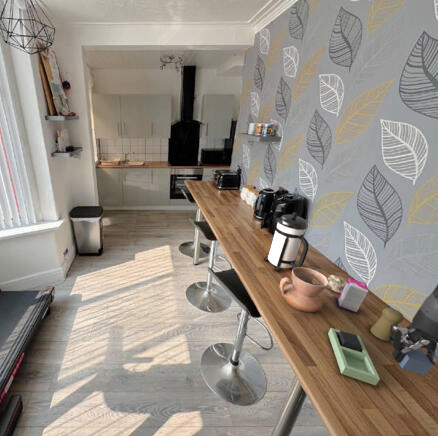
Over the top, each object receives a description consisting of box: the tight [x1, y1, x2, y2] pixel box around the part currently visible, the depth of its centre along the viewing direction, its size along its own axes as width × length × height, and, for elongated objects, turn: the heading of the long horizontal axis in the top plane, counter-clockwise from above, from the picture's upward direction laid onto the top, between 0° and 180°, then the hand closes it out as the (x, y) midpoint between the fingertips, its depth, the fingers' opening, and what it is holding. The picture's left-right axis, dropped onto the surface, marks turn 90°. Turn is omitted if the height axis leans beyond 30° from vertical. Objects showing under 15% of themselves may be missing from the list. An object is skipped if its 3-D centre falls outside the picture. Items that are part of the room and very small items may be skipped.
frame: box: [327, 327, 381, 386], centre depth 76 cm, size 8×16×3 cm, turn 157°
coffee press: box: [263, 211, 309, 272], centre depth 117 cm, size 17×16×30 cm
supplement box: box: [337, 277, 369, 314], centre depth 96 cm, size 6×6×12 cm
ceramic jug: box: [279, 266, 332, 314], centre depth 96 cm, size 18×14×14 cm
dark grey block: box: [337, 330, 362, 351], centre depth 79 cm, size 5×5×4 cm
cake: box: [326, 274, 348, 294], centre depth 108 cm, size 10×10×5 cm
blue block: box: [397, 345, 434, 376], centre depth 62 cm, size 5×5×4 cm
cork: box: [370, 307, 405, 342], centre depth 83 cm, size 6×6×11 cm
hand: (409, 363), depth 62 cm, fingers closed on blue block, 4 cm apart
